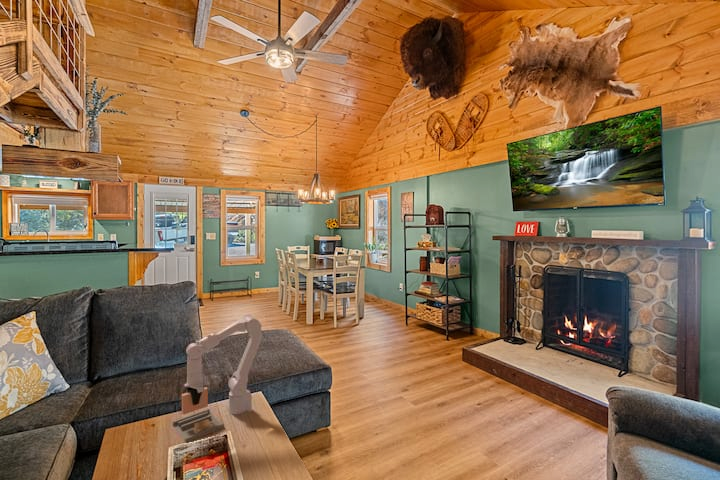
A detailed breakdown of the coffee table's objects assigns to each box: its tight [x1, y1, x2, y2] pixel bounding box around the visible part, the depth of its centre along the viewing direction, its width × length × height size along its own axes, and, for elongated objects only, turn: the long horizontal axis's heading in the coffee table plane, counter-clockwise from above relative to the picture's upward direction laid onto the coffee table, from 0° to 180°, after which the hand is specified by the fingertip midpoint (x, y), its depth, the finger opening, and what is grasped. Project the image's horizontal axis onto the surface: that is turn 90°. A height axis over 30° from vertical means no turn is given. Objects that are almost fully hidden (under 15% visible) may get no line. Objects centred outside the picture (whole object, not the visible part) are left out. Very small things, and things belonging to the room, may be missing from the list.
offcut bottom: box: [194, 423, 213, 433], centre depth 139 cm, size 6×4×2 cm, turn 142°
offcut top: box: [195, 419, 210, 431], centre depth 139 cm, size 5×4×2 cm
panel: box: [181, 386, 209, 416], centre depth 145 cm, size 10×2×8 cm, turn 134°
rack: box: [172, 408, 225, 444], centre depth 142 cm, size 15×17×2 cm
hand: (194, 403), depth 145 cm, fingers closed on panel, 2 cm apart
